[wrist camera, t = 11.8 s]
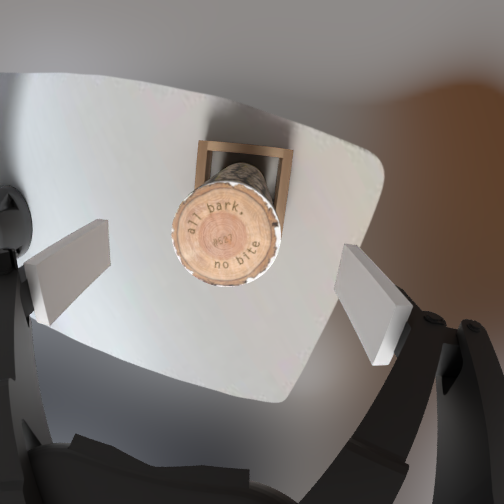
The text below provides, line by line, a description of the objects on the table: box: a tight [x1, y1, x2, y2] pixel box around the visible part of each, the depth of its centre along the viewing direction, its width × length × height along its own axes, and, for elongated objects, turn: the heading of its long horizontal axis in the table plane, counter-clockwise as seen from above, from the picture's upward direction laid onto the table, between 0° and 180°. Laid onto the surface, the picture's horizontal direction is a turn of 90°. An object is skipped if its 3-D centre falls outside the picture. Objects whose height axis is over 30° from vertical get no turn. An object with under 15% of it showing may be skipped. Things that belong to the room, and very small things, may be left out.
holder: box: [195, 140, 293, 237], centre depth 39 cm, size 12×12×5 cm
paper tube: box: [172, 162, 281, 287], centre depth 29 cm, size 7×7×25 cm
